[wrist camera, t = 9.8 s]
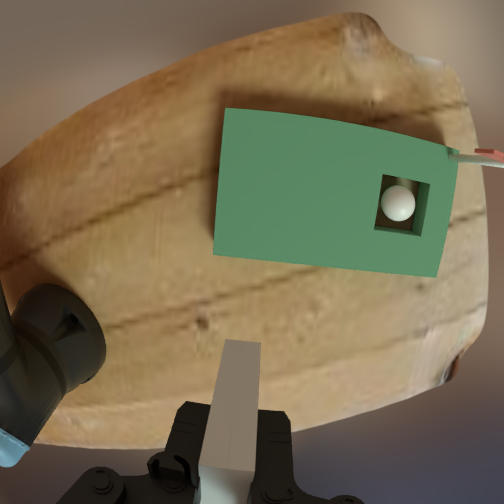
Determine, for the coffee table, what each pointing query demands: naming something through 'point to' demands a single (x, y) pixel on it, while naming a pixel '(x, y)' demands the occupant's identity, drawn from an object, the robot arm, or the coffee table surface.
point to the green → (327, 193)
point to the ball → (398, 203)
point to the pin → (481, 158)
